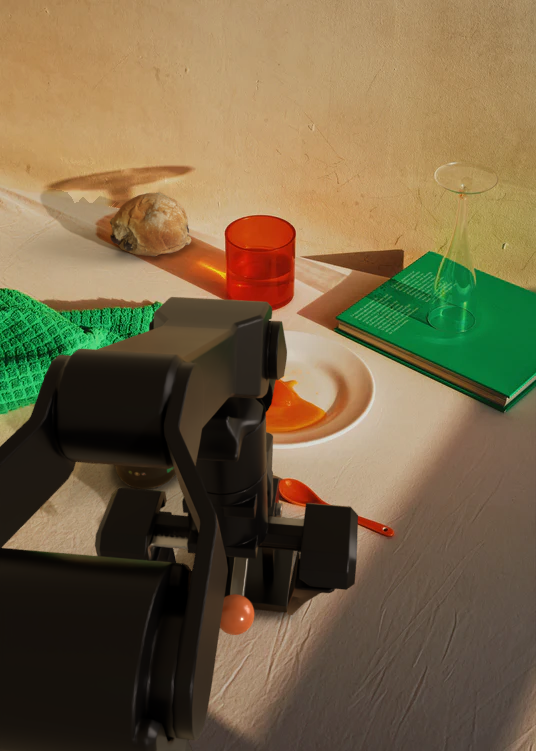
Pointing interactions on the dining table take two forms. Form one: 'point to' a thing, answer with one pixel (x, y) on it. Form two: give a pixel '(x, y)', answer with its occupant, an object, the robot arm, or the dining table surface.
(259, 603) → the bracket
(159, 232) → the bread roll
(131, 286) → the dining table surface
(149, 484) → the supplement bottle
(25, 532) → the dining table surface
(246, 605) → the lever
